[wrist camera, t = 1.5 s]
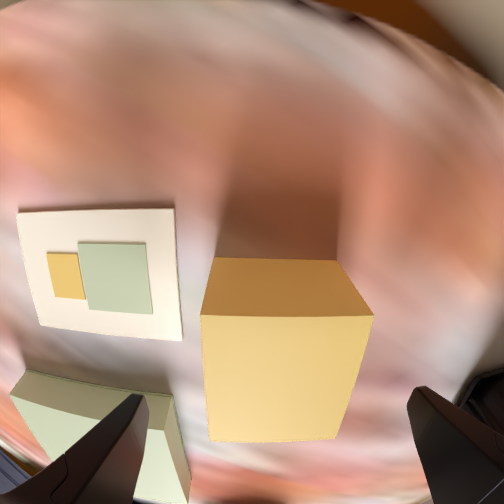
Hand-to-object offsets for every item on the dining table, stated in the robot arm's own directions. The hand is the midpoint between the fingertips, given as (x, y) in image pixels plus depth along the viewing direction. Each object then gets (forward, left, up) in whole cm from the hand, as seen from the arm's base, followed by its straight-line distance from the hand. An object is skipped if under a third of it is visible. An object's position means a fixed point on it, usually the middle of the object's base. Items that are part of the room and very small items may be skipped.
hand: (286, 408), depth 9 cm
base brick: (+10, +10, -6) cm, 15 cm away
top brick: (0, 0, -5) cm, 5 cm away
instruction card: (+8, -2, -5) cm, 10 cm away
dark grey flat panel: (+37, +26, -6) cm, 45 cm away
